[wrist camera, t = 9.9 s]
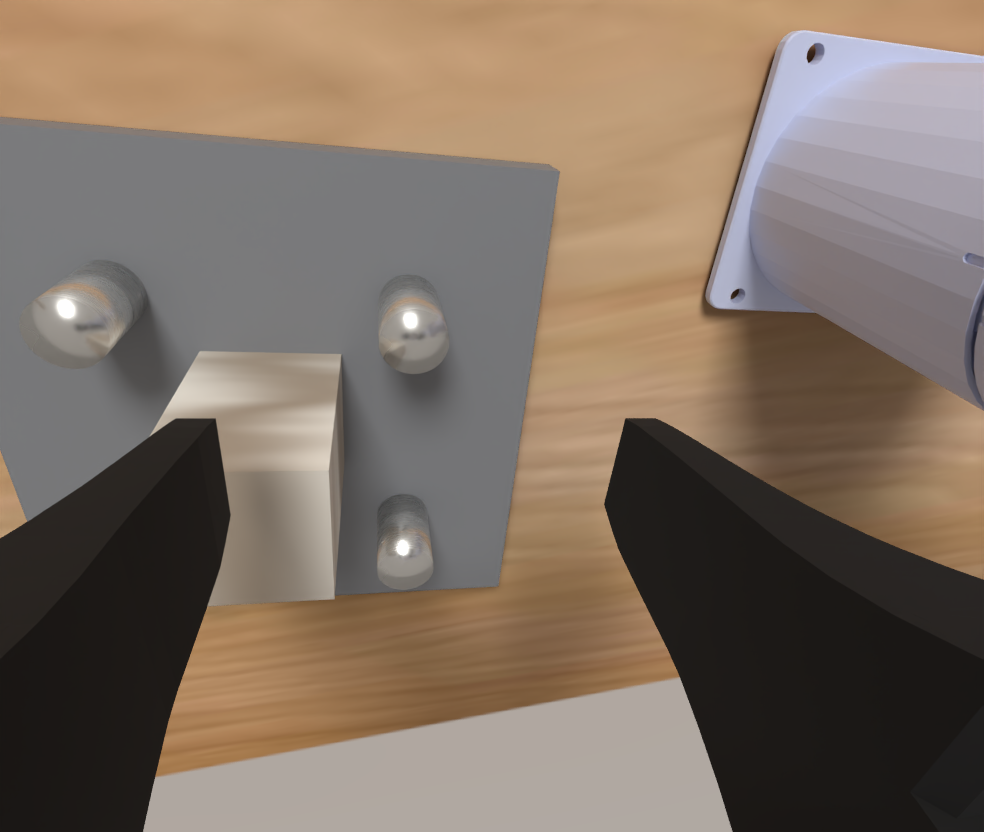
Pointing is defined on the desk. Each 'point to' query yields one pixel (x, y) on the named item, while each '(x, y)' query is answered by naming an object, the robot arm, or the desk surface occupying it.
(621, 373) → the desk surface
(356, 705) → the desk surface
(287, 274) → the peg board
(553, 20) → the desk surface
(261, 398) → the cream block
